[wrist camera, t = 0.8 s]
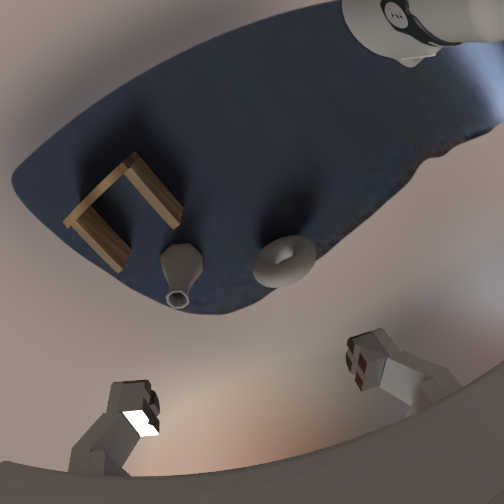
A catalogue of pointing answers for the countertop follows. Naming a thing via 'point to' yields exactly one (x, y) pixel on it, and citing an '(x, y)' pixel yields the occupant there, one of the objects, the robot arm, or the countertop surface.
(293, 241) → the donut
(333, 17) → the countertop surface
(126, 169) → the wooden arch bench
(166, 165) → the countertop surface
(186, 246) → the flask
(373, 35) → the robot arm
